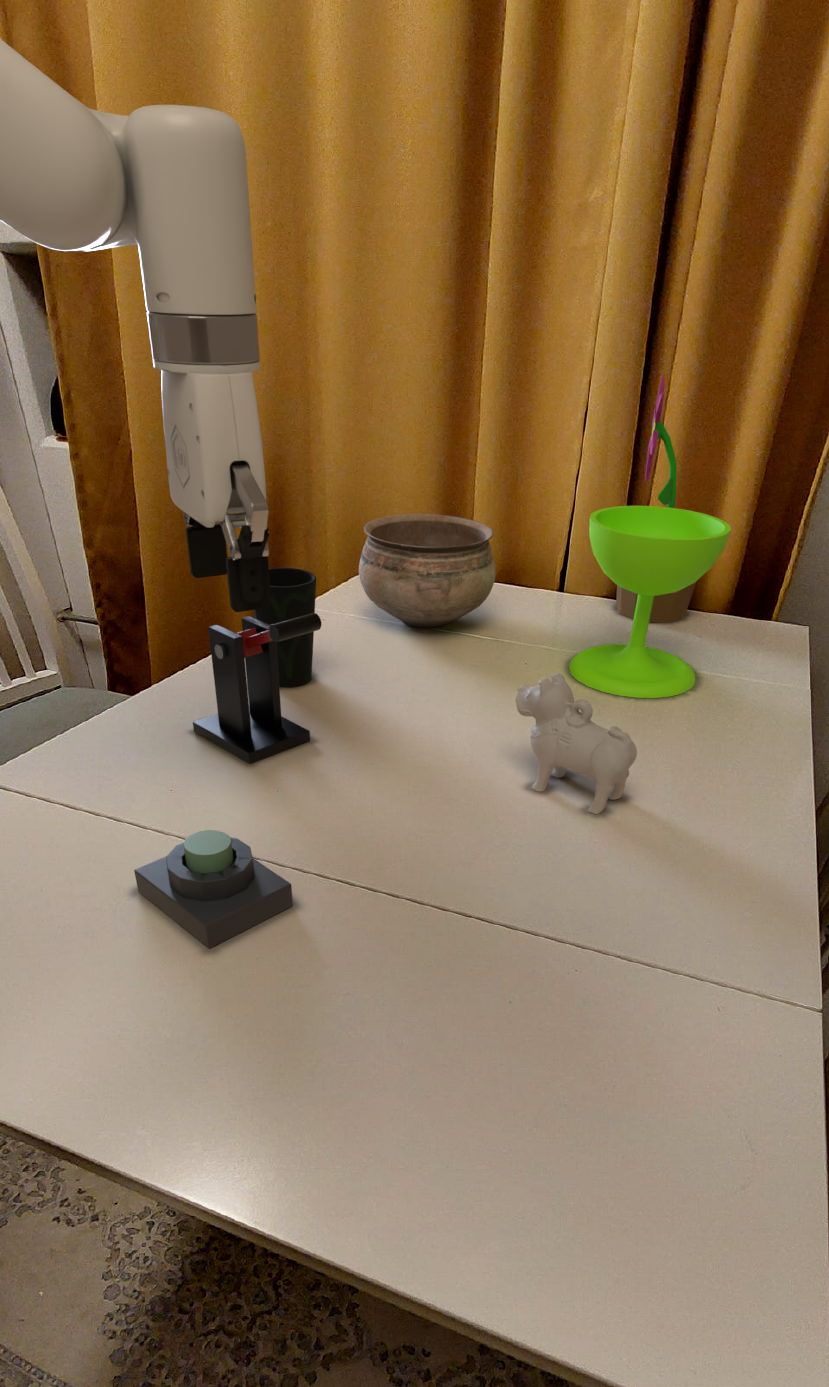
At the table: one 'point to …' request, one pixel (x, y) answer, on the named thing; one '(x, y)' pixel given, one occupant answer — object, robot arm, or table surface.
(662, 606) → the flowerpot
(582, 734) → the dog figurine
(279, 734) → the black lever stand
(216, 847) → the power button
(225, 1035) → the table surface
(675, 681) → the wineglass
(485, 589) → the cooking pot
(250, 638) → the lever handle
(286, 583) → the cup
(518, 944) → the table surface
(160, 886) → the base
